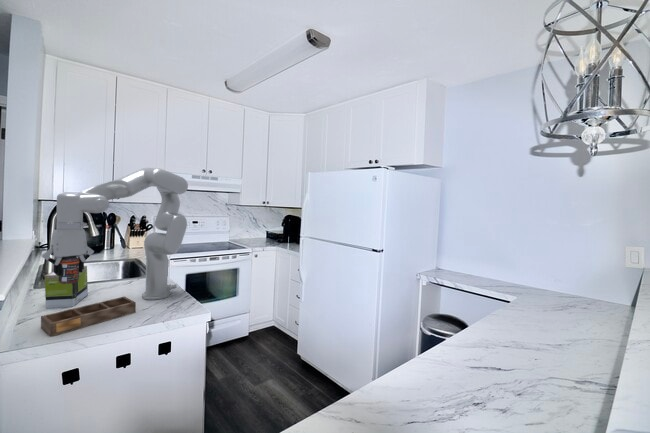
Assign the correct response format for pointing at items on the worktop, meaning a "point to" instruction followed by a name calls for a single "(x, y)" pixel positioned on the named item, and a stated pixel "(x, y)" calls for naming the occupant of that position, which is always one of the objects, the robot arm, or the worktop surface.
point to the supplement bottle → (69, 270)
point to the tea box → (65, 290)
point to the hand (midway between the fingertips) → (69, 272)
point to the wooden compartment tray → (86, 315)
